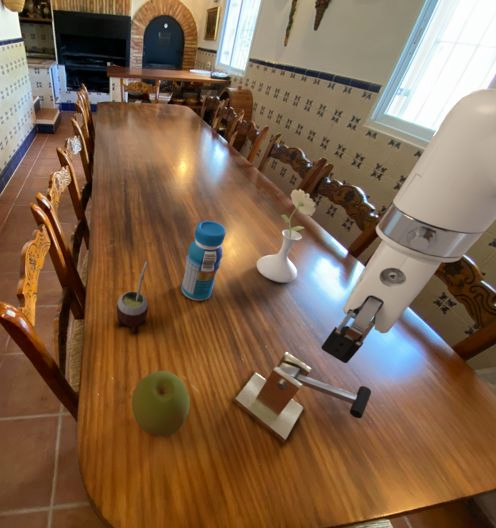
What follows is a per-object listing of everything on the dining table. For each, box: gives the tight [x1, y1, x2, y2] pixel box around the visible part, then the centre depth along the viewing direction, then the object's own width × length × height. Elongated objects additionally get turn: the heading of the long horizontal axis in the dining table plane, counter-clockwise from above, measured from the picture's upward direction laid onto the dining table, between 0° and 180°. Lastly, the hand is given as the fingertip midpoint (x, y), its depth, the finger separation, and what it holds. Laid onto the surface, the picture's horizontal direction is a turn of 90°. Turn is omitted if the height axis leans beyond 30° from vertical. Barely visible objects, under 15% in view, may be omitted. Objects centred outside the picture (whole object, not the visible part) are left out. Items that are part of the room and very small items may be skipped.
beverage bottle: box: [180, 220, 226, 301], centre depth 74 cm, size 8×8×20 cm
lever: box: [279, 363, 372, 419], centre depth 46 cm, size 12×5×2 cm, turn 45°
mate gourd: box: [116, 260, 149, 335], centre depth 66 cm, size 8×8×15 cm
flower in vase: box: [256, 188, 317, 284], centre depth 81 cm, size 13×11×25 cm
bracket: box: [233, 351, 312, 443], centre depth 52 cm, size 10×8×13 cm
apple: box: [131, 370, 191, 437], centre depth 50 cm, size 10×10×11 cm
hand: (345, 334), depth 41 cm, fingers open, 9 cm apart
